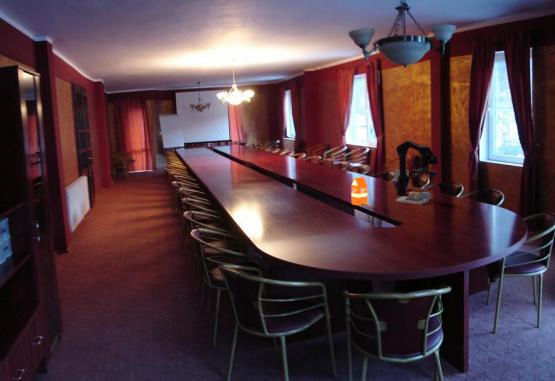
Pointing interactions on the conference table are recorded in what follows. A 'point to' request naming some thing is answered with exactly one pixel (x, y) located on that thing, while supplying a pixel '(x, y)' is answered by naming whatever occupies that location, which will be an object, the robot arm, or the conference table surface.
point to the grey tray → (412, 200)
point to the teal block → (425, 195)
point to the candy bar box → (397, 173)
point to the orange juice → (359, 191)
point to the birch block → (414, 195)
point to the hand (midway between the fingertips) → (424, 184)
